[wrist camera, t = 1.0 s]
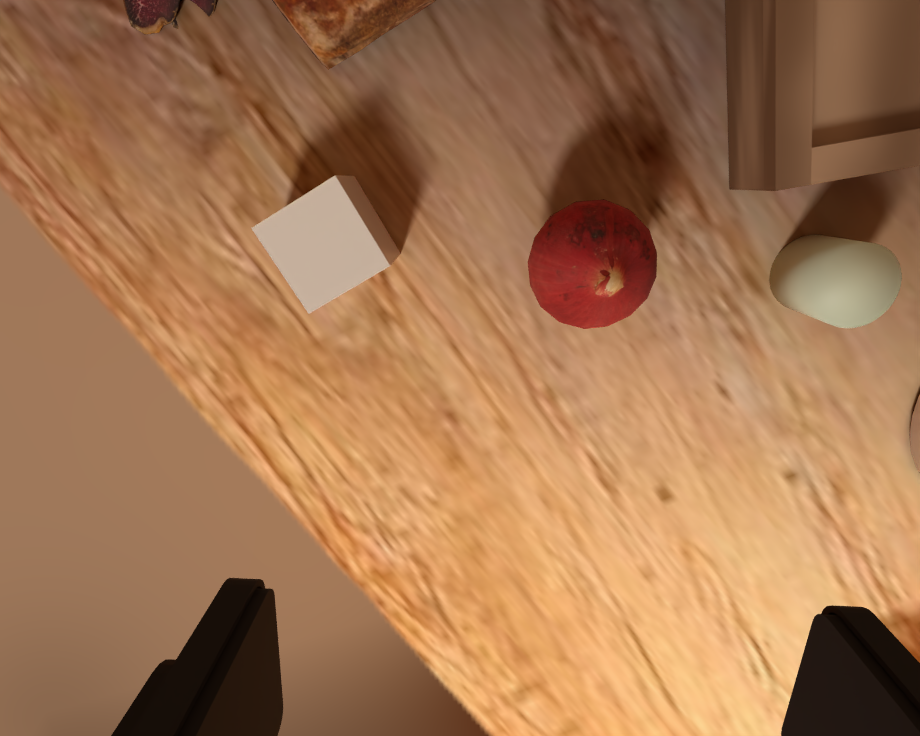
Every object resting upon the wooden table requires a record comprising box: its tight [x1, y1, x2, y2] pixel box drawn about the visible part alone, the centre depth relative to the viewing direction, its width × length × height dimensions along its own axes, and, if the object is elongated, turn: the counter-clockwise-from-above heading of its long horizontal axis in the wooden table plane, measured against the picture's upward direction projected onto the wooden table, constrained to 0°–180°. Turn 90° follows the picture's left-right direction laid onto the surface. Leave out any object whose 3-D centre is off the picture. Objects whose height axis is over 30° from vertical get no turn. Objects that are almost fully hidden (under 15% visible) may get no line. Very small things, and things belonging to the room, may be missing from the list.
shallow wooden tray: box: [725, 0, 920, 191], centre depth 24 cm, size 12×12×4 cm
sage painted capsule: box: [769, 235, 902, 328], centre depth 28 cm, size 4×4×4 cm
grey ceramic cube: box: [252, 175, 401, 313], centre depth 28 cm, size 4×4×4 cm
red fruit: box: [528, 199, 657, 329], centre depth 26 cm, size 6×6×8 cm
